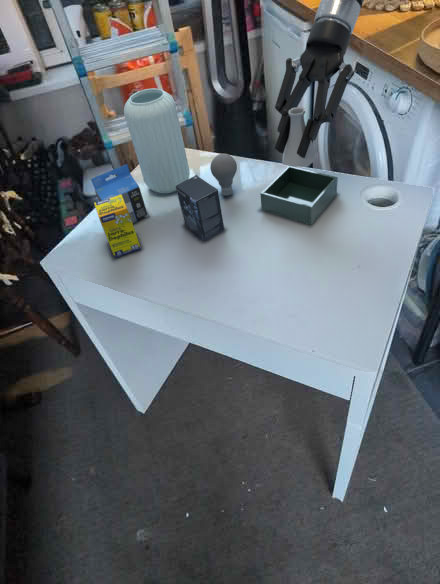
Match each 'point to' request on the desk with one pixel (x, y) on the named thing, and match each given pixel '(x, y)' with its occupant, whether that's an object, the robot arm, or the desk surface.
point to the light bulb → (224, 171)
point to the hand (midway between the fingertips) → (289, 153)
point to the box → (200, 207)
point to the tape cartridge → (121, 191)
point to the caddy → (299, 194)
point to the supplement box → (117, 225)
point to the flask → (297, 141)
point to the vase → (157, 139)
